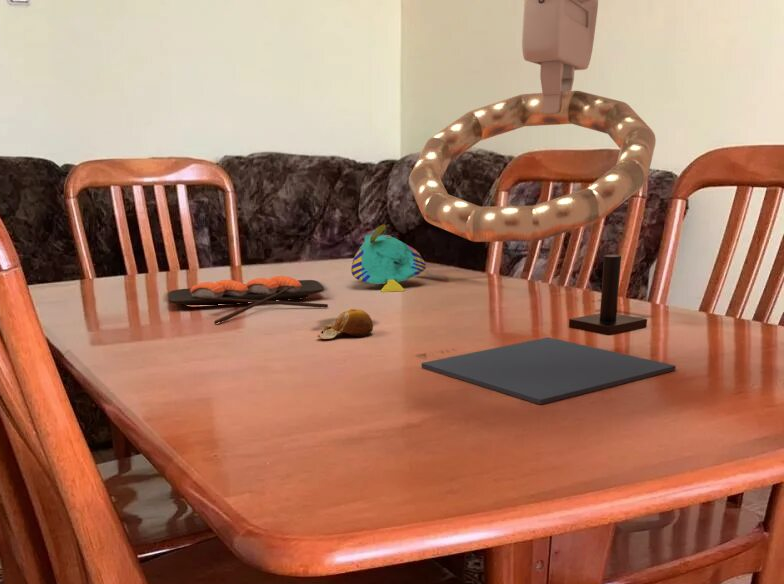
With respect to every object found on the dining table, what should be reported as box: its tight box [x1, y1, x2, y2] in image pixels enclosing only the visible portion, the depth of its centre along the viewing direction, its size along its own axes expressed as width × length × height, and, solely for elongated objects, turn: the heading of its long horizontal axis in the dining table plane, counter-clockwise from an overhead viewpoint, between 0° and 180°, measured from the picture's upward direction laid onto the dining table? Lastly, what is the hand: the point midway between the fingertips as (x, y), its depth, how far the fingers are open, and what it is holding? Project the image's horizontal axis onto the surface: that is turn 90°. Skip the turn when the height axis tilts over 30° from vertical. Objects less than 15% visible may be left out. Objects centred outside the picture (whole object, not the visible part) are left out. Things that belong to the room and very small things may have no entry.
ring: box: [408, 90, 657, 243], centre depth 85 cm, size 24×24×3 cm
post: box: [568, 254, 648, 336], centre depth 121 cm, size 8×8×10 cm
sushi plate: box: [167, 275, 329, 324], centre depth 151 cm, size 29×30×4 cm
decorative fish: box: [351, 224, 427, 293], centre depth 167 cm, size 20×12×15 cm
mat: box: [421, 336, 677, 406], centre depth 103 cm, size 22×22×1 cm
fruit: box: [316, 308, 374, 340], centre depth 125 cm, size 8×8×4 cm
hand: (556, 114), depth 91 cm, fingers closed on ring, 3 cm apart
